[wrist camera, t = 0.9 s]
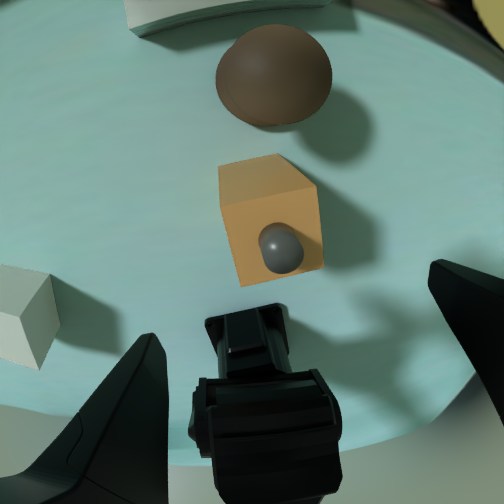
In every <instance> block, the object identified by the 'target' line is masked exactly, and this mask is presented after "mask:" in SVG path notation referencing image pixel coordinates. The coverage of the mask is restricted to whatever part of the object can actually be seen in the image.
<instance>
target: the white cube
mask: <svg viewBox="0 0 504 504" xmlns="http://www.w3.org/2000/svg"><path fill="white" fill-rule="evenodd" d="M60 326H61V325H60V320H59V316H58V312H57V308H56V303H55V298H54V293H53V288H52V283H51V277H50V273H44V272H39V271H34V270H29V269H24V268H19V267H14V266H9V265H4V264H0V358H3V359H6V360H8V361H11V362H14V363H17V364H20V365H23V366H26V367H29V368H32V369H36V370H39V371H40V368H41V366H42V364H43V362H44V360H45V357H46V355H47V353H48V351H49V349H50V347H51V345H52V342H53V340H54V338H55V336H56V334H57V332H58V330H59V328H60Z"/></svg>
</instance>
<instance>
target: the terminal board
mask: <svg viewBox="0 0 504 504" xmlns="http://www.w3.org/2000/svg"><path fill="white" fill-rule="evenodd" d="M330 1H332V0H124V4H125V10H126V16H127V21H128V27H129V30H130V31H132V32H133V33H134V34H135V35H137V36H138V37H139V38H140V37H143V36H146V35H149V34H152V33H156V32H159V31H162V30H166V29H169V28H173V27H176V26H180V25H184V24H188V23H192V22H196V21H201V20H206V19H210V18H215V17H221V16H226V15H232V14H239V13H246V12H253V11H262V10H272V9H284V8H303V7H324V6H325V5H326V4H328V3H329V2H330Z"/></svg>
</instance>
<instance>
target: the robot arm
mask: <svg viewBox="0 0 504 504" xmlns="http://www.w3.org/2000/svg"><path fill="white" fill-rule="evenodd" d="M428 287H429V290H430V292H431V294H432V295H433V297H434V299H435V301H436V303H437V305H438V306H439V308H440V310H441V312H442V314H443V316H444V318H445V320H446V322H447V323H448V325H449V327H450V328H451V330H452V332H453V333H454V335H455V336H456V338H457V340H458V341H459V343H460V345H461V346H462V348H463V349H464V351H465V353H466V355H467V356H468V358H469V360H470V361H471V363H472V365H473V367H474V368H475V370H476V372H477V374H478V376H479V377H480V379H481V381H482V383H483V385H484V387H485V389H486V391H487V393H488V394H489V396H490V398H491V400H492V402H493V404H494V406H495V408H496V411H497V413H498V414H499V416H500V419H501V421H502V424H503V426H504V279H501V278H498V277H495V276H492V275H489V274H486V273H483V272H481V271H478V270H475V269H472V268H469V267H466V266H463V265H460V264H456V263H453V262H450V261H447V260H444V259H438V260H436V261H433V262H432V263H431V264H430V270H429V277H428ZM274 309H277V310H274ZM209 323H213V324H209ZM205 328H206V330H207V333H208V335H209V338H210V340H211V343H212V345H213V347H214V350H215V352H216V354H217V357H218V373H219V378H216V379H207V378H199V386H196V391H195V392H193V400H192V414H191V418H190V422H189V427H188V435H189V437H190V438H191V439H193V440H194V441H195V442H196V444H197V448H199V450H200V455H201V458H212V467H213V476H214V484H215V487H216V489H217V490H218V492H219V495H220V497H221V498H222V500H223V501H224V502H225V503H226V504H320V502H321V501H322V499H323V497H324V496H325V495H328V494H333V493H336V492H337V491H338V489H339V486H340V483H341V481H342V477H343V475H342V469H341V464H340V457H339V447H338V441H339V440H340V438H341V434H342V416H341V411H340V407H339V404H338V402H337V400H336V398H335V396H334V395H333V393H332V392H331V390H330V388H329V387H328V385H327V384H326V382H325V381H324V379H323V378H322V376H321V375H320V373H319V371H318V370H317V369H310V370H309V371H303V372H295V373H292V370H291V367H290V363H289V359H288V355H289V348H288V343H287V337H286V331H285V325H284V320H283V314H282V309H281V306H280V305H279V304H277V303H274V304H269V305H265V306H261V307H256V308H252V309H248V310H243V311H239V312H234V313H229V314H225V315H220V316H215V317H210V318H207V319H206V320H205ZM168 418H169V391H168V376H167V358H166V353H165V350H164V349H163V347H162V345H161V343H160V341H159V340H158V338H157V336H156V335H155V334H154V333H147V334H142V335H141V336H140V337H139V338H138V339H137V340H136V341H135V343H134V344H133V345H132V346H131V347H130V349H129V350H128V351H127V352H126V353H125V355H124V356H123V357H122V358H121V359H120V361H119V362H118V363H117V364H116V365H115V367H114V368H113V369H112V370H111V372H110V373H109V374H108V375H107V376H106V378H105V379H104V380H103V381H102V383H101V384H100V385H99V386H98V387H97V389H96V390H95V391H94V392H93V394H92V395H91V396H90V397H89V399H88V400H87V401H86V402H85V404H84V405H83V406H82V407H81V409H80V410H79V412H77V414H76V415H75V416H74V417H73V419H72V420H71V421H70V422H69V423H68V425H67V426H66V427H65V428H64V430H63V431H62V432H61V433H60V434H59V435H58V436H57V438H56V439H55V440H54V441H53V442H52V443H51V444H50V445H49V446H48V447H47V448H46V450H45V451H44V452H43V453H42V454H41V455H40V456H39V457H38V458H37V459H36V460H35V461H34V462H33V463H32V464H31V465H30V467H28V468H27V469H26V470H25V471H23V472H21V473H19V474H16V475H13V476H8V477H3V478H0V504H169V503H168Z"/></svg>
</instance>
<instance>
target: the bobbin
mask: <svg viewBox="0 0 504 504" xmlns="http://www.w3.org/2000/svg"><path fill="white" fill-rule="evenodd" d="M331 85H332V68H331V64H330V61H329V58H328V56H327V54H326V52H325V50H324V49H323V48H322V46H321V45H320V44H319V43H318V42H317V41H316V40H315V39H314V38H313V37H312V36H311V35H309V34H308V33H306V32H304V31H302V30H300V29H298V28H295V27H292V26H288V25H282V24H269V25H263V26H260V27H257V28H254V29H252V30H250V31H248V32H247V33H245V34H243V35H242V36H241V37H240V38H239V39H238V40H237V41H236V42H235V43H234V44H233V46H231V47H230V48H229V49H228V50H227V51H226V53H225V54H224V55H223V57H222V58H221V60H220V62H219V64H218V67H217V71H216V88H217V92H218V95H219V98H220V100H221V102H222V103H223V105H224V106H225V107H226V108H227V110H228V111H229V112H230V113H232V114H233V115H234V116H236V117H237V118H239V119H241V120H242V121H244V122H247V123H250V124H253V125H259V126H273V125H278V124H291V123H295V122H299V121H301V120H304V119H306V118H308V117H310V116H311V115H312V114H314V113H315V112H316V111H317V110H318V109H320V107H321V106H322V105H323V104H324V102H325V101H326V99H327V97H328V95H329V93H330V89H331Z"/></svg>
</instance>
